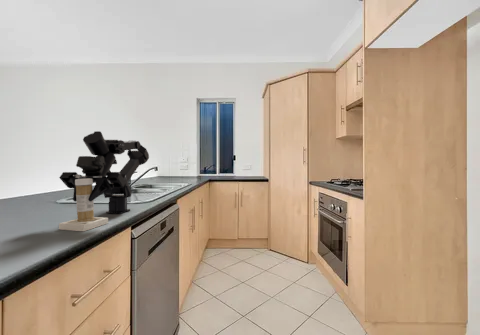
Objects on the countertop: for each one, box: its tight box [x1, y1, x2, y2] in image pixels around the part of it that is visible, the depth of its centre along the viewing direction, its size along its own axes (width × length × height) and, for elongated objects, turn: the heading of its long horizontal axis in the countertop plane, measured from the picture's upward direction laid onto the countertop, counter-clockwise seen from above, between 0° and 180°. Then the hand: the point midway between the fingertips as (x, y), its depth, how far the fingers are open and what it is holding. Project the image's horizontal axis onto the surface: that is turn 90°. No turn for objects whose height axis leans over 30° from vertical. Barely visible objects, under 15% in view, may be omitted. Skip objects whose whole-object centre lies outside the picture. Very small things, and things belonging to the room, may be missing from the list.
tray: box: [58, 216, 109, 232], centre depth 70 cm, size 9×9×2 cm
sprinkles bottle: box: [75, 178, 95, 222], centre depth 70 cm, size 5×5×14 cm
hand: (81, 200), depth 68 cm, fingers closed on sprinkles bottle, 4 cm apart
